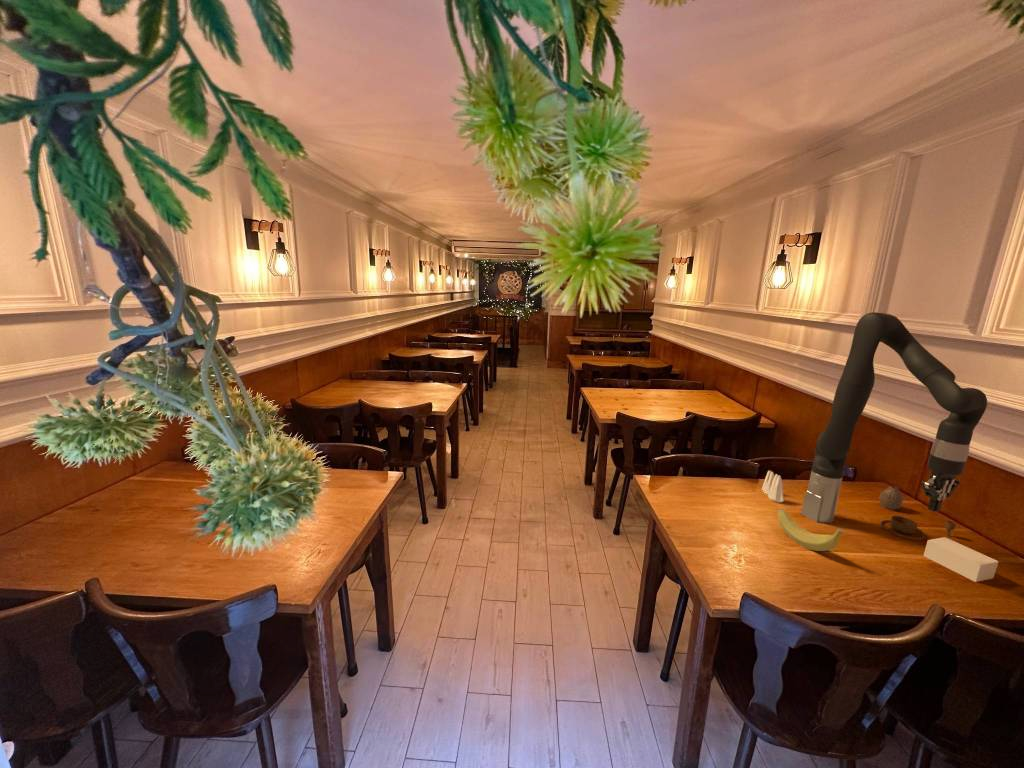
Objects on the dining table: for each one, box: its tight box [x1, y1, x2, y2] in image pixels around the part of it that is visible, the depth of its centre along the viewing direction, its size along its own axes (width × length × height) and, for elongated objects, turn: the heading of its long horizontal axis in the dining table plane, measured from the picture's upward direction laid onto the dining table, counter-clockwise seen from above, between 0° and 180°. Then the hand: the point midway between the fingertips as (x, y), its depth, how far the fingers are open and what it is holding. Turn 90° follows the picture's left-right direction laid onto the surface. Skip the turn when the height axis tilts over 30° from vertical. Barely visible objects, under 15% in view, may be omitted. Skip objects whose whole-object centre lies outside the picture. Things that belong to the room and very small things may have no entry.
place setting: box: [880, 515, 957, 545], centre depth 151 cm, size 18×20×6 cm
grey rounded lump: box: [878, 485, 904, 511], centre depth 170 cm, size 7×7×9 cm
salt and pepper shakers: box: [761, 470, 785, 503], centre depth 174 cm, size 12×4×11 cm, turn 170°
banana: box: [777, 507, 845, 552], centre depth 140 cm, size 14×6×20 cm
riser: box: [923, 536, 999, 583], centre depth 133 cm, size 8×13×6 cm, turn 16°
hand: (933, 510), depth 129 cm, fingers closed
